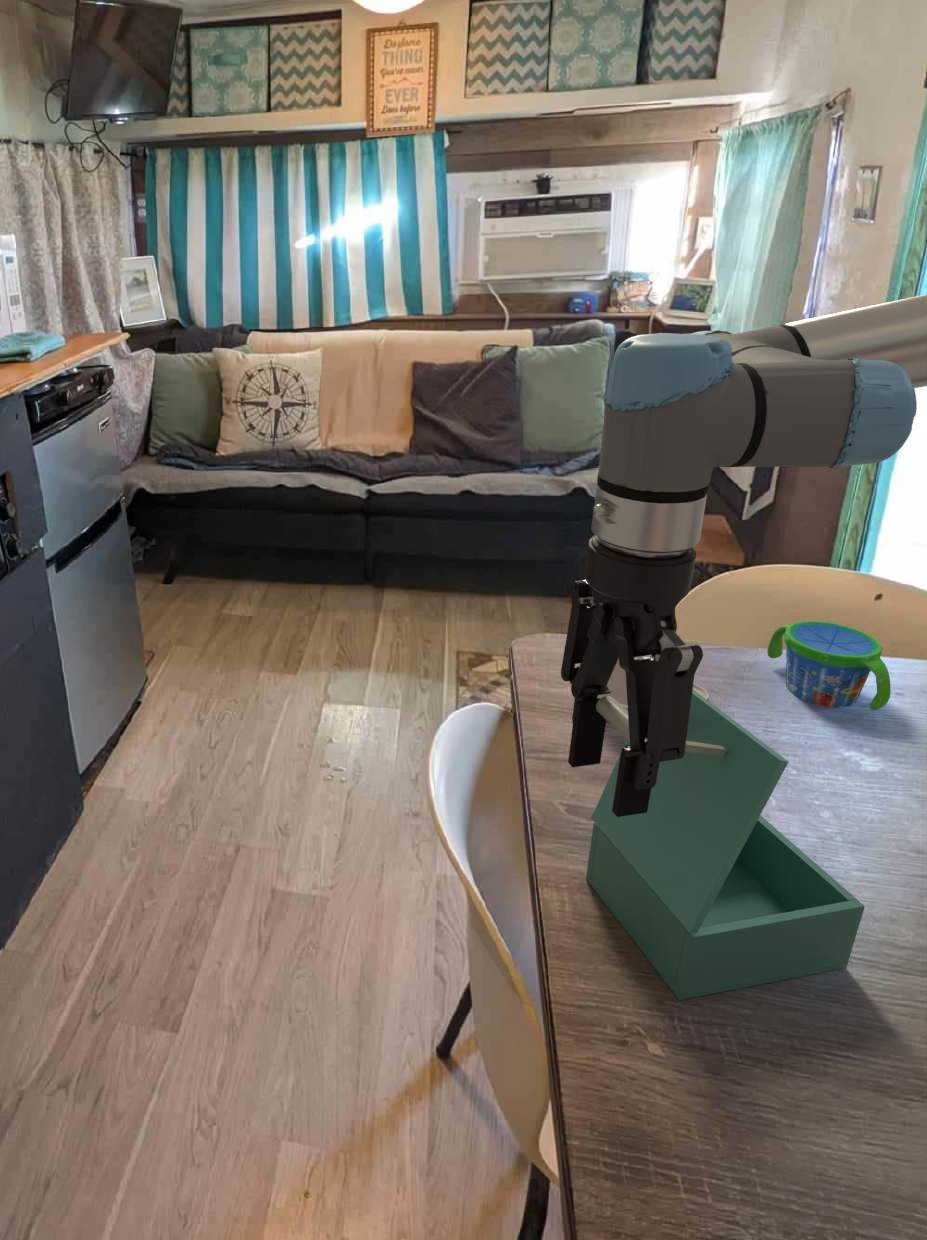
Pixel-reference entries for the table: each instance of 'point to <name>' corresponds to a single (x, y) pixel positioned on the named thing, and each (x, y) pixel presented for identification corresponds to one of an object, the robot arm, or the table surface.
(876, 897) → the table surface
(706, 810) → the lid
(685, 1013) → the table surface
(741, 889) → the chest
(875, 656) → the snack cup
